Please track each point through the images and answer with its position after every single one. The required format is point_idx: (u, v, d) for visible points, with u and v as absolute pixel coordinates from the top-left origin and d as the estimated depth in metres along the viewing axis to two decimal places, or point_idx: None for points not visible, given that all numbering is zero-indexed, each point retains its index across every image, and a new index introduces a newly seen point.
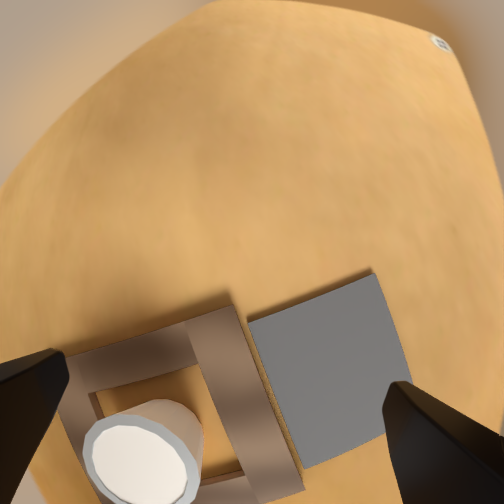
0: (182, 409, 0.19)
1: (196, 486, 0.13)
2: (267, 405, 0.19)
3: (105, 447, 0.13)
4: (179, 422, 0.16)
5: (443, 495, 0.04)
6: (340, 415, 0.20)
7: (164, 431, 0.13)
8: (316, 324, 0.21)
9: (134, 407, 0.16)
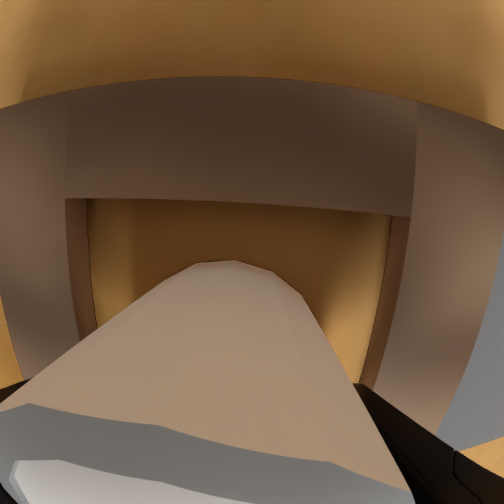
0: None
1: None
2: (465, 359, 0.08)
3: (67, 490, 0.02)
4: None
5: None
6: (503, 398, 0.09)
7: None
8: None
9: (219, 312, 0.05)
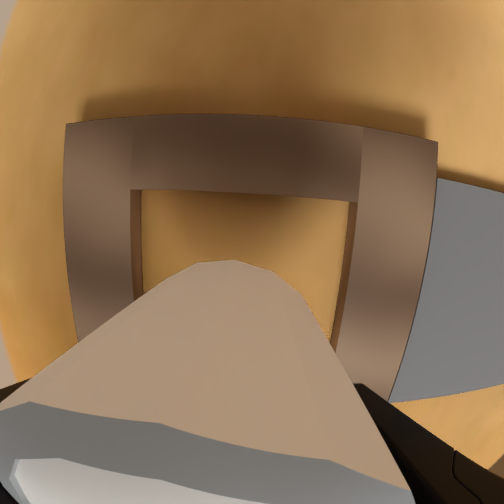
0: None
1: None
2: (412, 306, 0.13)
3: (67, 489, 0.02)
4: None
5: None
6: (459, 351, 0.14)
7: None
8: (498, 227, 0.12)
9: (219, 311, 0.05)
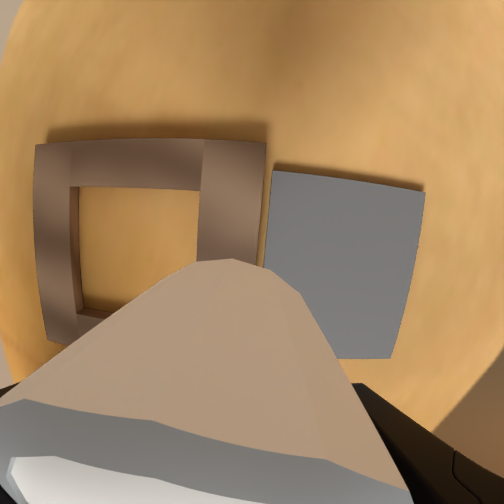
0: None
1: None
2: None
3: (63, 487, 0.02)
4: None
5: None
6: (317, 316, 0.20)
7: None
8: (343, 209, 0.18)
9: (216, 309, 0.05)
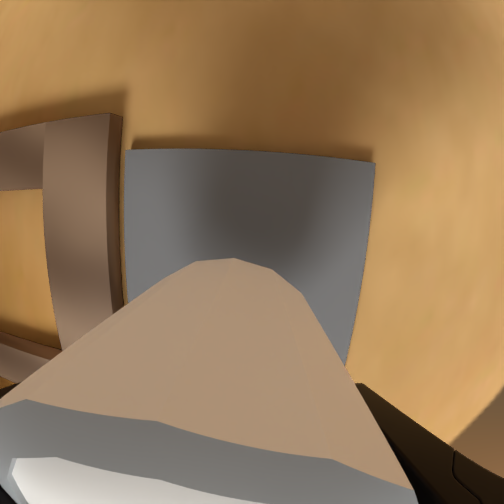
0: None
1: None
2: (105, 288, 0.12)
3: (65, 489, 0.02)
4: None
5: None
6: None
7: None
8: (230, 196, 0.12)
9: (218, 309, 0.05)
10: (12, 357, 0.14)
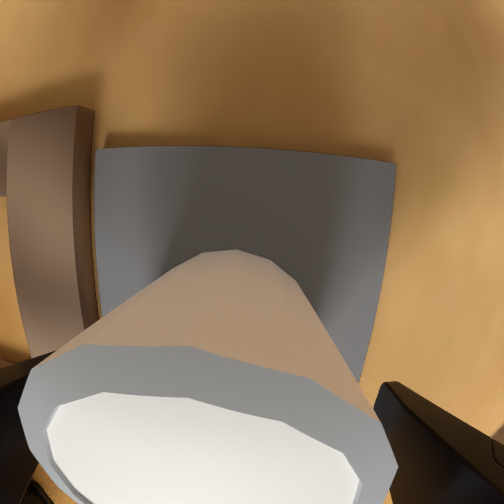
0: None
1: None
2: (76, 312, 0.10)
3: (99, 432, 0.04)
4: None
5: (433, 498, 0.04)
6: None
7: (373, 444, 0.03)
8: (219, 204, 0.10)
9: (227, 285, 0.06)
10: None
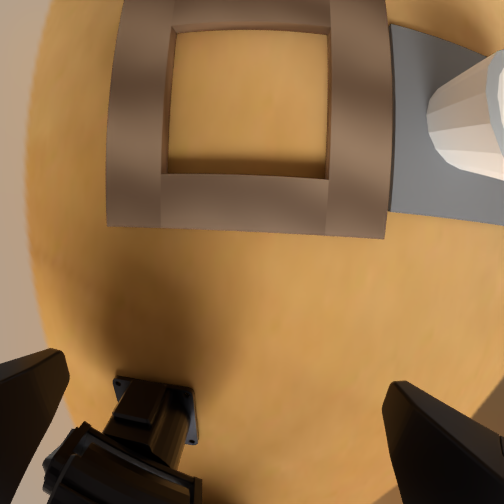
0: None
1: None
2: (388, 102, 0.15)
3: None
4: None
5: (443, 495, 0.04)
6: (447, 167, 0.16)
7: None
8: (452, 65, 0.14)
9: None
10: (239, 189, 0.16)
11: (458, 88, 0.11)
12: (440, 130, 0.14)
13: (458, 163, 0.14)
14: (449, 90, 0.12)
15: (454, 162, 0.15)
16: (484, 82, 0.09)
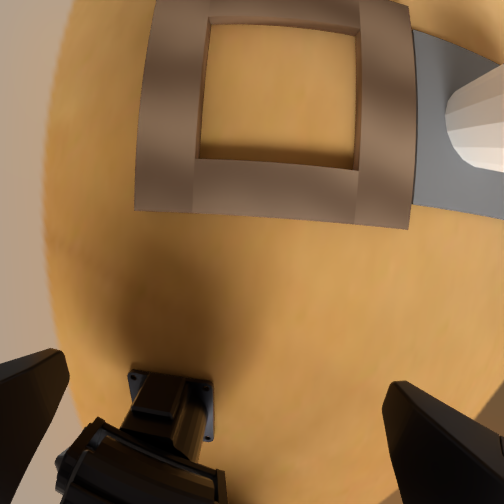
0: None
1: None
2: (412, 101, 0.15)
3: None
4: None
5: (443, 495, 0.04)
6: (463, 164, 0.16)
7: None
8: (467, 70, 0.15)
9: None
10: (274, 177, 0.17)
11: (478, 90, 0.12)
12: (459, 129, 0.14)
13: (475, 160, 0.15)
14: (468, 92, 0.13)
15: (471, 159, 0.15)
16: (503, 85, 0.09)
